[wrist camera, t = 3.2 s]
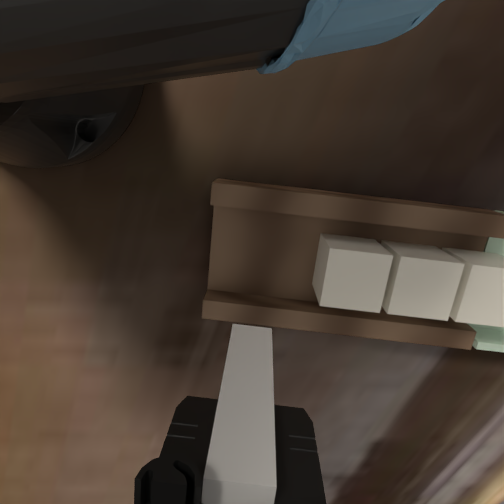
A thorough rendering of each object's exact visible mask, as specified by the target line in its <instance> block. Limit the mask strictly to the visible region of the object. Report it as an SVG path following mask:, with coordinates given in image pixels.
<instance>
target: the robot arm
mask: <svg viewBox="0 0 504 504" xmlns="http://www.w3.org/2000/svg"><path fill="white" fill-rule="evenodd" d="M443 1H445V0H0V162H3V163H6V164H10V165H14V166H21V167H27V168H50V167H61V166H68V165H74V164H78V163H81V162H84V161H87V160H89V159H91V158H93V157H95V156H97V155H99V154H101V153H102V152H104V151H105V150H106V149H108V148H109V147H110V146H111V145H112V144H114V143H115V142H116V141H117V140H118V138H119V137H120V136H121V135H122V134H123V133H124V131H125V130H126V129H127V127H128V125H129V124H130V122H131V120H132V119H133V117H134V115H135V113H136V110H137V108H138V105H139V102H140V99H141V96H142V92H143V87H144V84H148V83H156V82H163V81H170V80H178V79H185V78H192V77H200V76H207V75H214V74H222V73H229V72H236V71H244V70H251V69H257V71H258V72H259V73H260V74H267V73H276V72H279V71H281V70H284V69H286V68H287V67H289V66H290V65H291V64H292V63H293V62H295V61H296V60H301V59H306V58H311V57H316V56H322V55H327V54H332V53H337V52H342V51H347V50H352V49H357V48H362V47H367V46H372V45H377V44H381V43H384V42H387V41H389V40H391V39H393V38H396V37H398V36H400V35H402V34H404V33H406V32H408V31H409V30H411V29H413V28H414V27H416V26H417V25H418V24H419V23H421V22H422V21H423V20H424V19H425V18H426V17H427V16H428V15H429V14H430V13H431V12H432V11H433V10H434V9H435V8H436V7H437V6H438V5H439V3H441V2H443ZM134 504H326V499H325V493H324V487H323V481H322V475H321V469H320V463H319V457H318V453H317V445H316V440H315V433H314V427H313V422H312V420H311V419H310V417H309V416H308V414H307V413H306V411H305V410H304V409H303V408H295V407H287V406H278V405H274V383H273V350H272V328H265V327H256V326H248V325H239V324H233V325H232V330H231V336H230V341H229V346H228V351H227V357H226V362H225V367H224V373H223V378H222V383H221V388H220V394H219V399H209V398H201V397H193V396H187V397H186V398H185V399H184V400H183V401H182V402H181V403H180V404H179V405H178V406H177V407H176V410H175V413H174V416H173V419H172V422H171V424H170V427H169V430H168V433H167V436H166V439H165V442H164V445H163V448H162V451H161V453H160V456H159V457H158V458H156V459H153V460H151V461H150V462H149V463H147V464H146V465H145V466H144V467H142V468H141V470H140V471H139V473H138V475H137V476H136V478H135V492H134Z"/></svg>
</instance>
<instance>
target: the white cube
mask: <svg viewBox="0 0 504 504" xmlns="http://www.w3.org/2000/svg"><path fill="white" fill-rule="evenodd" d="M381 245H382V246H383V247H384V248H385V249H386V250H388V251H389V252H390V253H391V254H392V255H393V260H392V264H391V268H390V272H389V276H388V281H387V285H386V289H385V293H384V298H383V302H382V307H383V308H384V310H385V311H386V313H387V314H393V315H401V316H410V317H419V318H427V319H436V320H444V321H448V318H449V315H450V312H451V308H452V305H453V302H454V298H455V295H456V292H457V288H458V285H459V282H460V279H461V275H462V272H463V269H464V265H465V264H464V263H463V262H461V261H459V260H458V259H456V258H454V257H453V256H451V255H449V254H448V253H446V252H444V251H443V250H441V249H439V248H438V247H436V246H428V245H419V244H410V243H402V242H393V241H384V240H381Z"/></svg>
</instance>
